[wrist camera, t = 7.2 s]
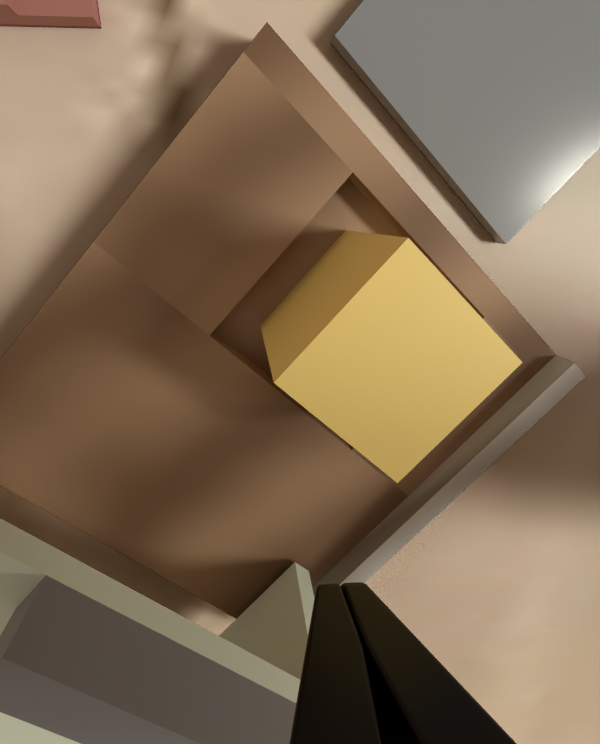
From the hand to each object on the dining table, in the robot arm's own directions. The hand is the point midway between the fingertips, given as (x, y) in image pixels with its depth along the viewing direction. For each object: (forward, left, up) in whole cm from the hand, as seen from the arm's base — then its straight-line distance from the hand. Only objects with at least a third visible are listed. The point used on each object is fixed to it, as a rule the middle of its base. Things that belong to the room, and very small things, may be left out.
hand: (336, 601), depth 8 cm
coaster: (+2, -14, -11) cm, 18 cm away
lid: (0, +9, -9) cm, 13 cm away
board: (0, 0, -11) cm, 11 cm away
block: (0, -4, -10) cm, 11 cm away
